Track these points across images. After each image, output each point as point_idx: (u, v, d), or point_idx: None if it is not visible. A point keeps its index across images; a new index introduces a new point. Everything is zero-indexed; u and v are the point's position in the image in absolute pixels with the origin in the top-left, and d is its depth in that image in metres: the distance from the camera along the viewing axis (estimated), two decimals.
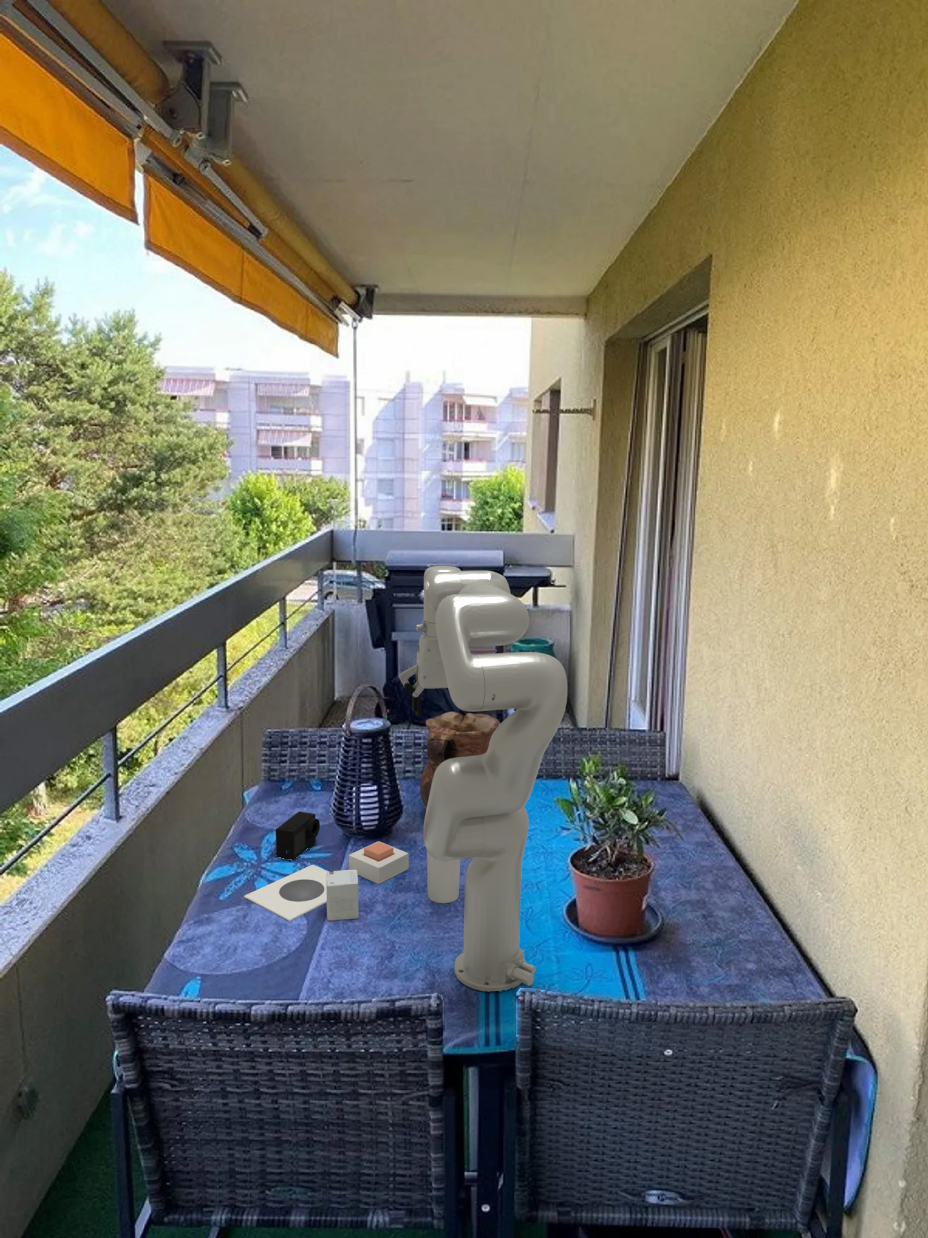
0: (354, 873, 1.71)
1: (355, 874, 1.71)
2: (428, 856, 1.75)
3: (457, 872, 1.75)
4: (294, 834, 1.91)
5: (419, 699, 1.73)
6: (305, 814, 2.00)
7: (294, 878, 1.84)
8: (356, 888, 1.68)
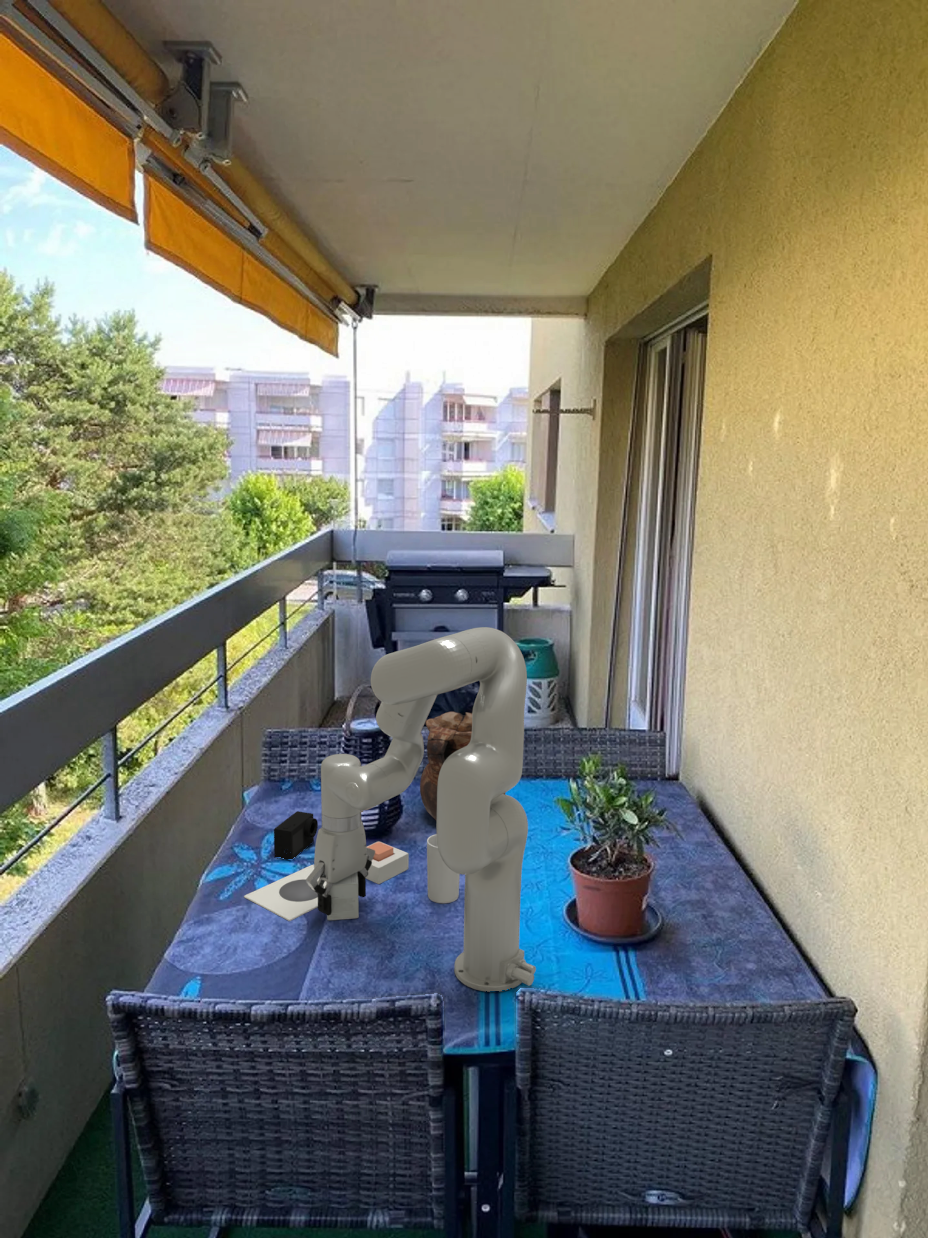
0: (354, 873, 1.71)
1: (355, 874, 1.71)
2: (428, 856, 1.75)
3: None
4: (292, 834, 1.91)
5: None
6: (303, 814, 2.00)
7: (294, 878, 1.84)
8: (356, 888, 1.68)
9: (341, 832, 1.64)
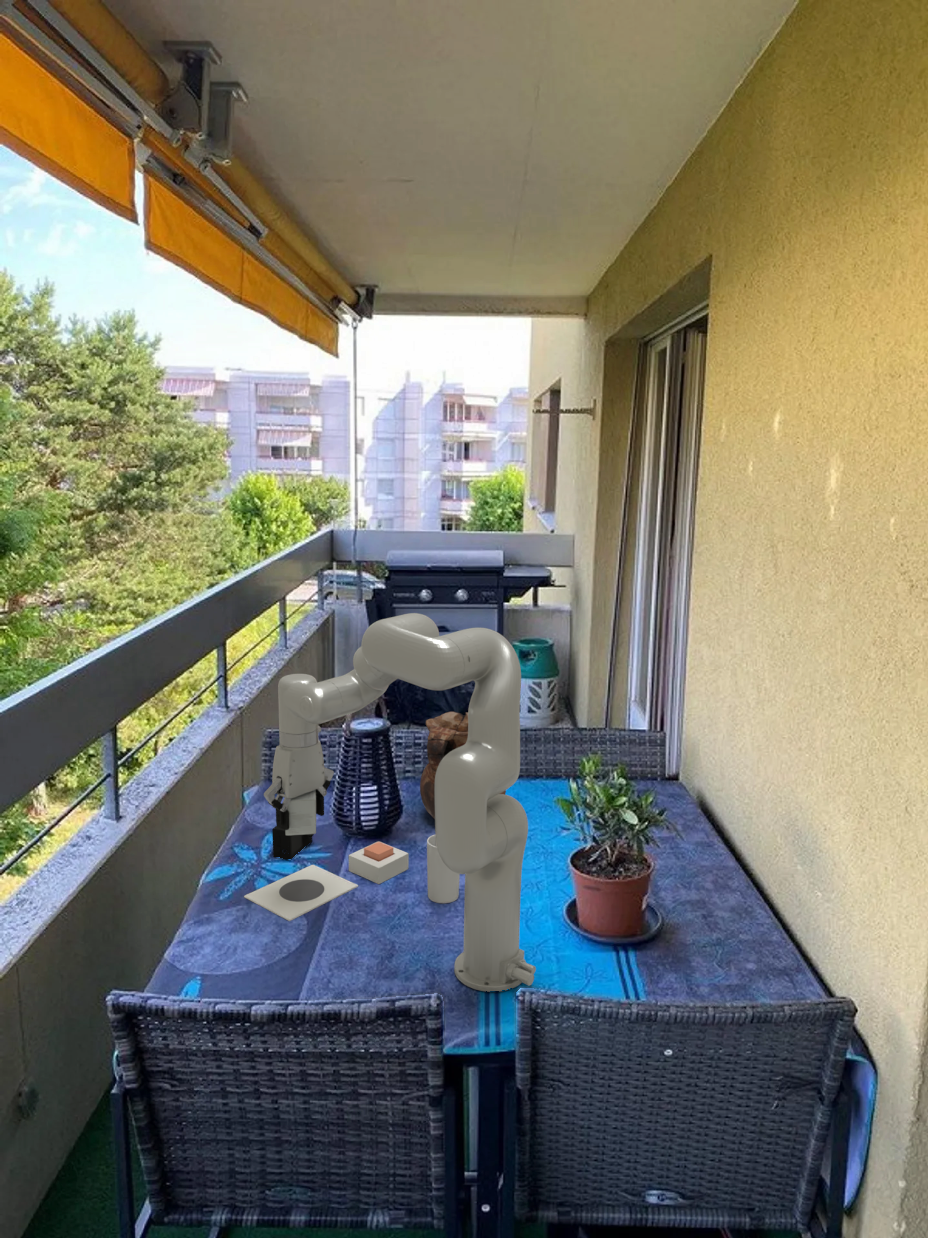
0: (312, 791, 1.76)
1: (313, 792, 1.76)
2: (428, 856, 1.75)
3: None
4: None
5: None
6: None
7: (294, 878, 1.84)
8: (313, 803, 1.72)
9: (298, 748, 1.69)
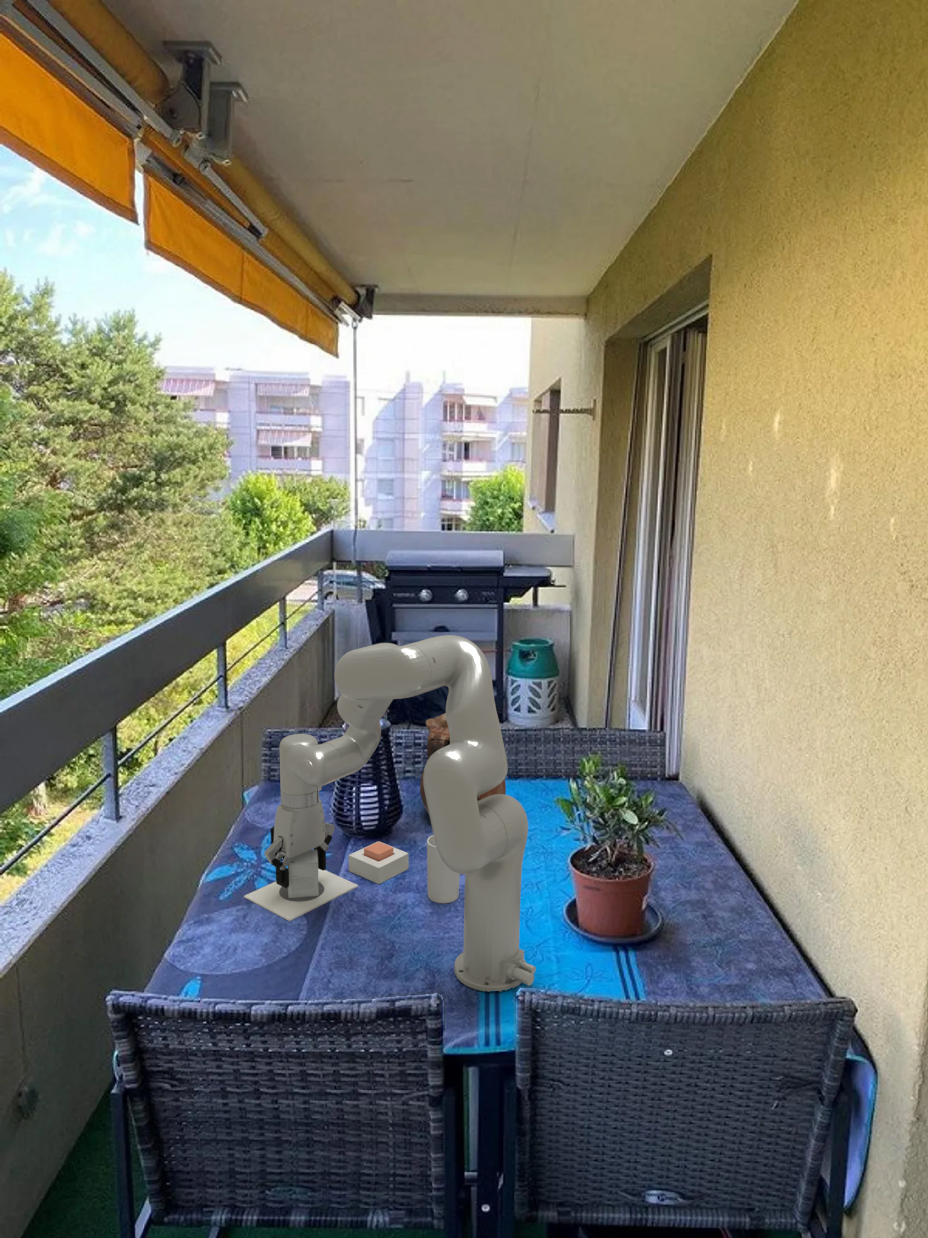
0: (314, 853, 1.79)
1: (315, 854, 1.78)
2: (428, 856, 1.75)
3: None
4: None
5: None
6: None
7: None
8: (316, 867, 1.75)
9: (299, 808, 1.71)
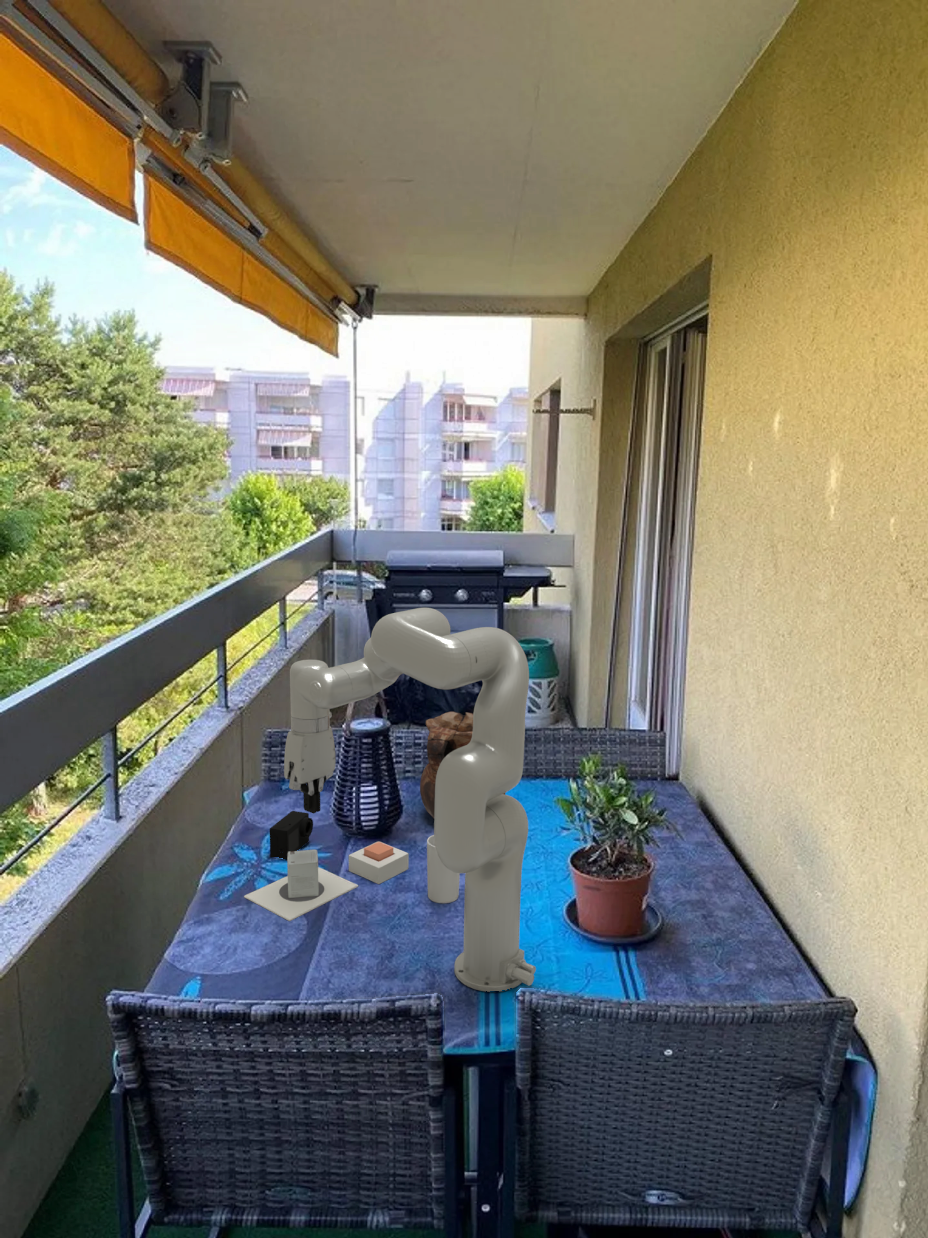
0: (314, 853, 1.79)
1: (315, 854, 1.78)
2: (428, 856, 1.75)
3: None
4: (288, 833, 1.92)
5: None
6: (298, 813, 2.00)
7: None
8: (316, 866, 1.75)
9: (310, 733, 1.70)
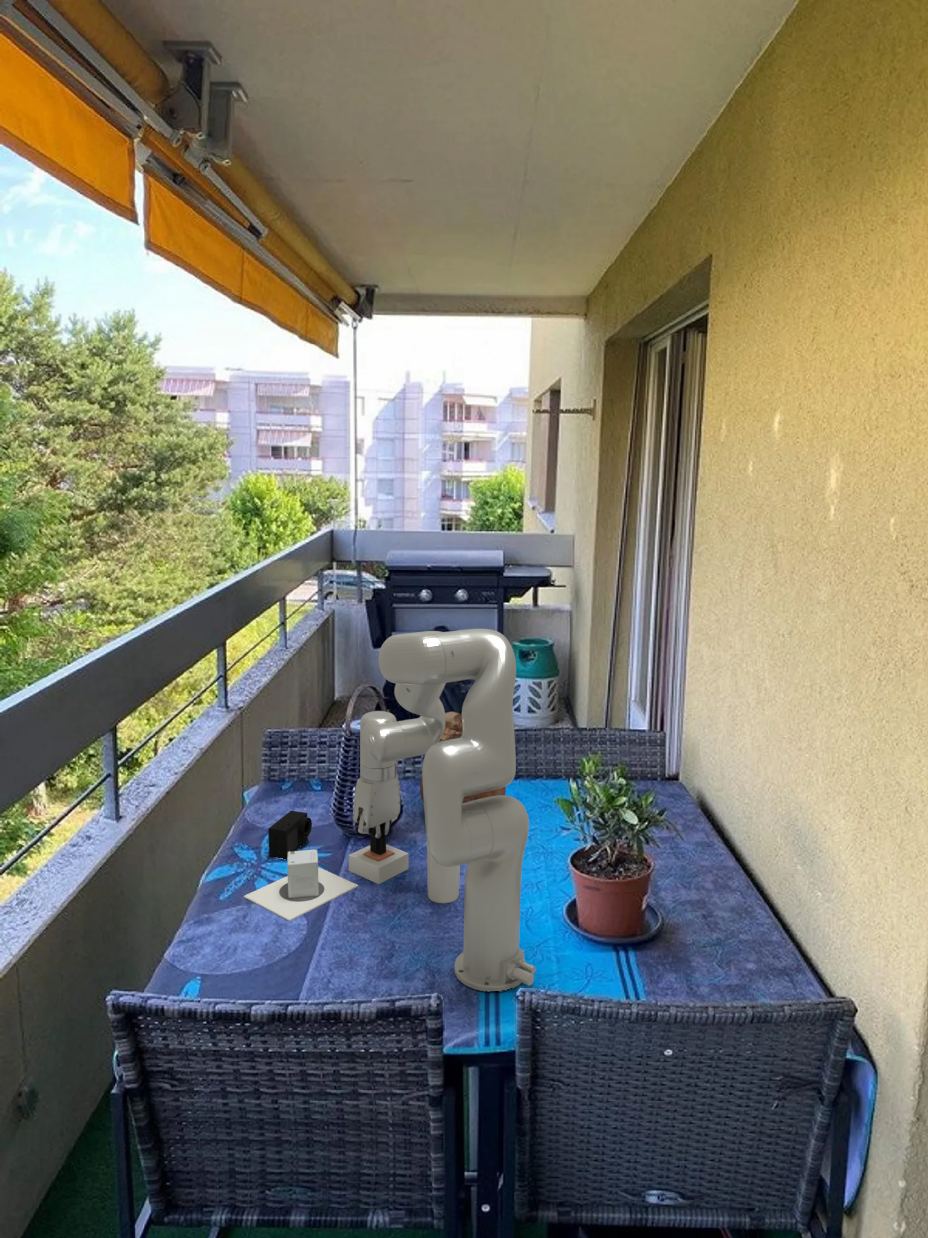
0: (314, 853, 1.79)
1: (315, 854, 1.78)
2: (428, 856, 1.75)
3: (457, 872, 1.75)
4: (287, 833, 1.92)
5: None
6: (297, 813, 2.00)
7: None
8: (316, 867, 1.75)
9: (379, 781, 1.81)
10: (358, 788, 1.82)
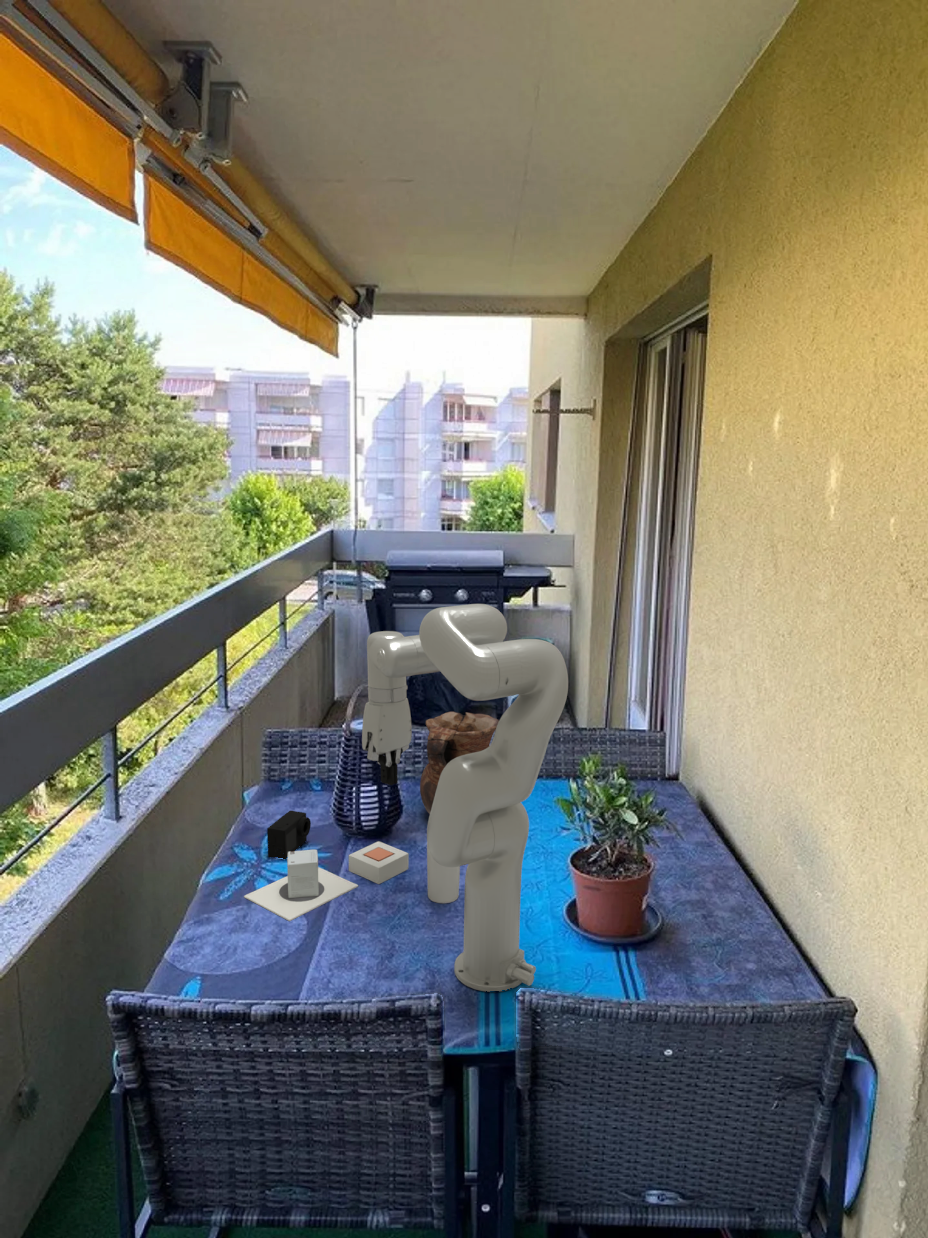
0: (314, 853, 1.79)
1: (315, 854, 1.78)
2: (428, 856, 1.75)
3: (457, 872, 1.75)
4: (286, 833, 1.92)
5: None
6: (296, 813, 2.00)
7: None
8: (316, 866, 1.75)
9: (388, 703, 1.71)
10: (366, 711, 1.72)
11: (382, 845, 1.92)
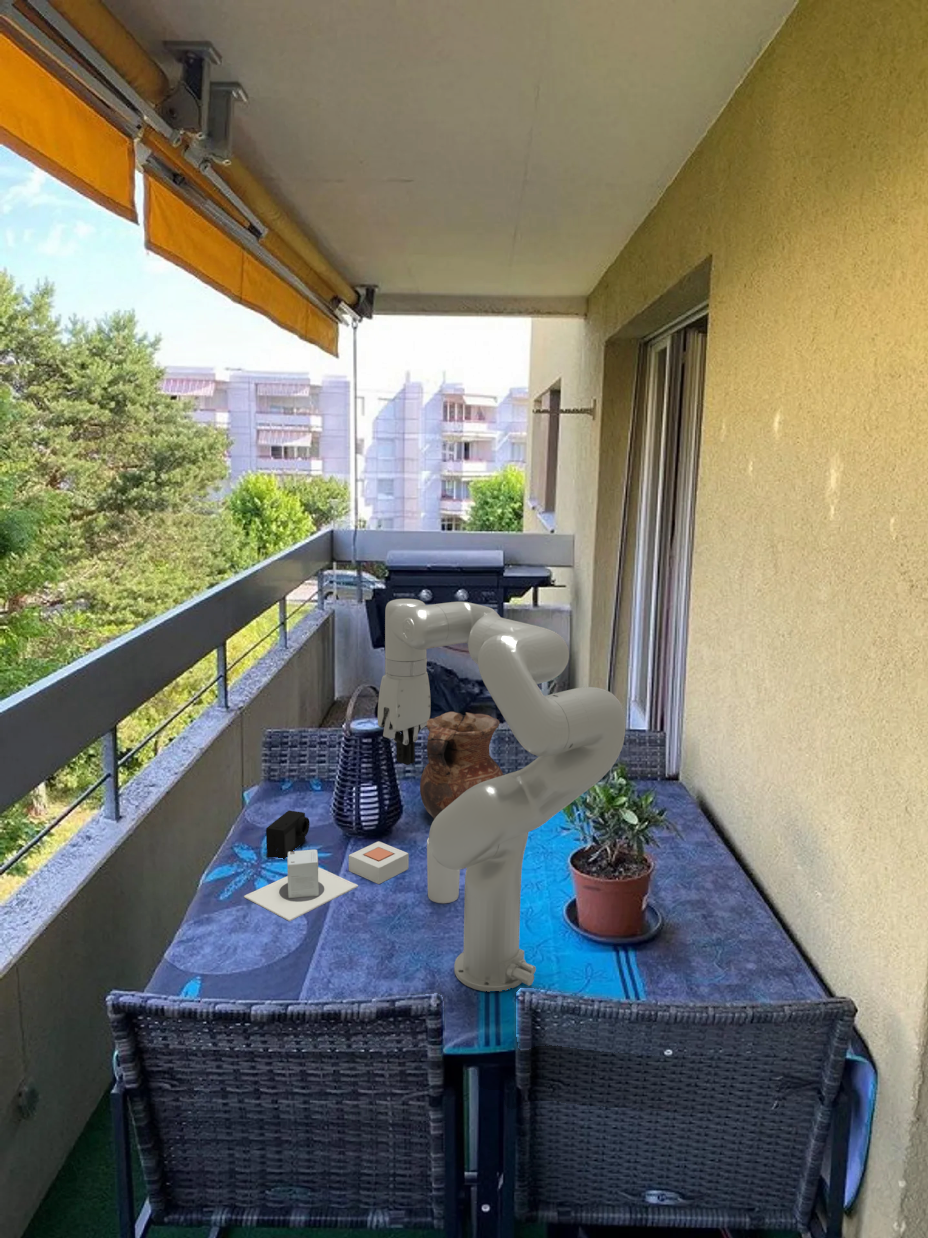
0: (314, 853, 1.79)
1: (315, 854, 1.78)
2: (428, 856, 1.75)
3: (457, 872, 1.75)
4: (285, 833, 1.92)
5: None
6: (295, 813, 2.00)
7: None
8: (316, 867, 1.75)
9: (407, 676, 1.58)
10: (383, 685, 1.59)
11: (382, 845, 1.92)
